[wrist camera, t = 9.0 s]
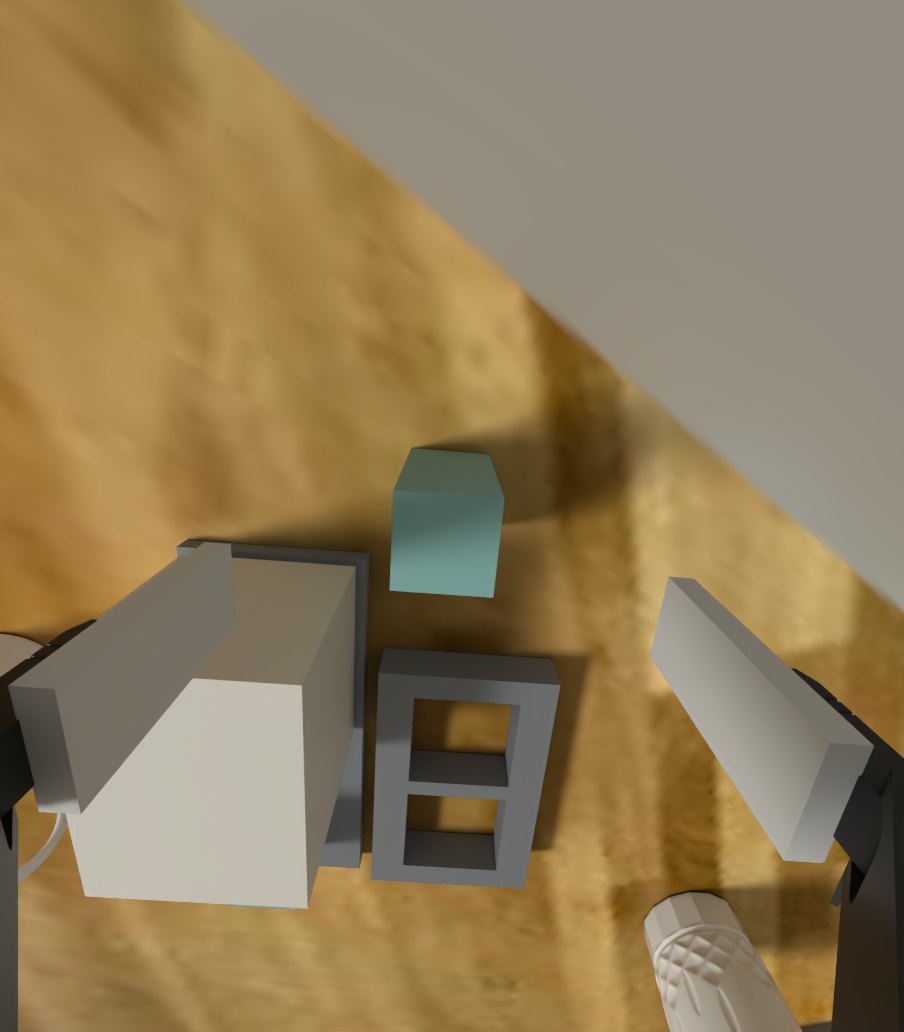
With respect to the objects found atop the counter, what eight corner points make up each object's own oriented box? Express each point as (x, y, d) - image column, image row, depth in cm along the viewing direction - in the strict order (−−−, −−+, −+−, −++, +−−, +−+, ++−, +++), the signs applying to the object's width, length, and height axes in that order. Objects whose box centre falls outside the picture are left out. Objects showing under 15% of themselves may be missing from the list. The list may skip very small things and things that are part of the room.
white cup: (625, 953, 38) (683, 1155, 28) (647, 881, 35) (718, 1078, 26) (726, 958, 38) (817, 1162, 28) (754, 887, 35) (865, 1085, 26)
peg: (411, 448, 25) (393, 490, 17) (489, 453, 25) (504, 498, 17) (407, 521, 26) (389, 590, 19) (481, 526, 26) (493, 597, 19)
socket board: (384, 647, 29) (378, 672, 26) (551, 658, 29) (560, 685, 27) (376, 844, 34) (371, 879, 32) (519, 852, 34) (524, 888, 32)
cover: (182, 554, 25) (30, 668, 16) (355, 566, 25) (301, 685, 16) (201, 724, 29) (85, 896, 20) (353, 734, 29) (307, 908, 20)
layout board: (186, 539, 27) (128, 580, 22) (369, 553, 27) (351, 596, 22) (218, 845, 34) (180, 925, 29) (362, 853, 34) (347, 934, 29)
